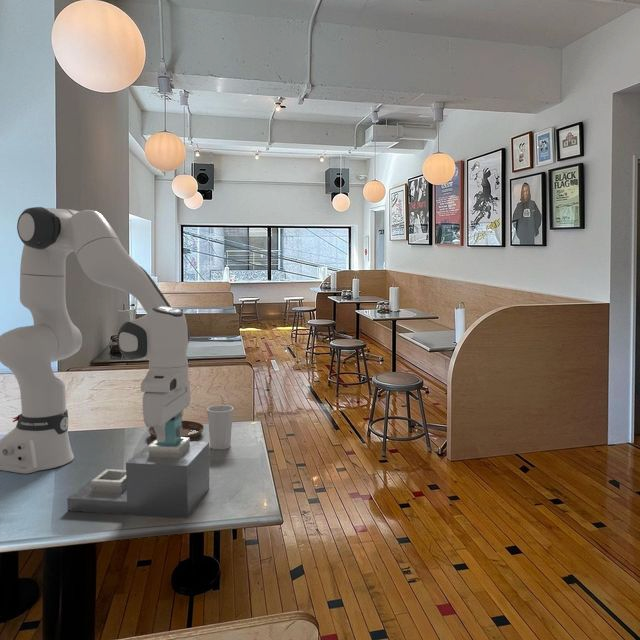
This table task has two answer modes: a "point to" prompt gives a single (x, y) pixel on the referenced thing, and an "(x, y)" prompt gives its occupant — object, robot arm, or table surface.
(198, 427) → the plant saucer
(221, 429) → the cup
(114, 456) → the table surface
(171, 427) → the plug
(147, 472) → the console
